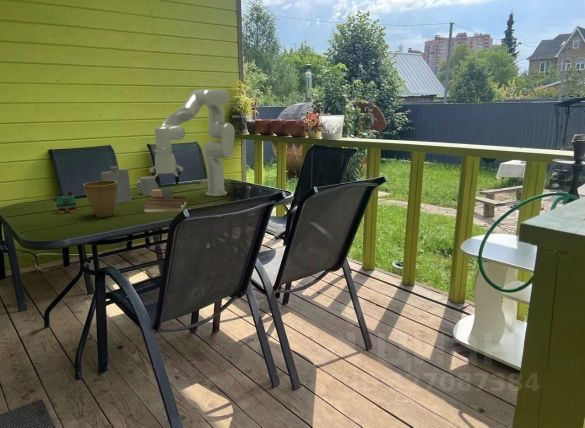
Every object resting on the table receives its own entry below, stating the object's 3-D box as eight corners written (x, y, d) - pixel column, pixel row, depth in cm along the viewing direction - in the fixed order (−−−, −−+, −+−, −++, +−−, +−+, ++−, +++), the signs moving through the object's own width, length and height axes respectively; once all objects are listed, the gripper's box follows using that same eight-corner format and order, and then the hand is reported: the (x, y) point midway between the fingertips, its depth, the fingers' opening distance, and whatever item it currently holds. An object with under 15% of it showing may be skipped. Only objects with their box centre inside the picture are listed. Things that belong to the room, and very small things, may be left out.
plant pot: (96, 212, 219) (92, 180, 215) (125, 212, 218) (122, 180, 215) (81, 219, 204) (76, 185, 201) (112, 219, 204) (108, 185, 200)
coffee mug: (162, 192, 267) (161, 176, 265) (152, 195, 258) (150, 179, 256) (144, 191, 272) (142, 175, 269) (133, 194, 263) (131, 178, 260)
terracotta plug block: (154, 202, 241) (153, 189, 240) (162, 201, 242) (161, 189, 240) (152, 203, 238) (151, 190, 236) (160, 203, 238) (159, 190, 236)
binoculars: (74, 189, 225) (74, 191, 216) (76, 210, 227) (77, 212, 218) (54, 191, 221) (54, 192, 212) (57, 212, 223) (57, 214, 214)
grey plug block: (164, 202, 232) (163, 189, 230) (173, 202, 232) (172, 189, 230) (163, 204, 228) (162, 191, 226) (171, 204, 228) (170, 191, 227)
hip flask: (106, 205, 233) (102, 168, 228) (102, 204, 235) (98, 167, 230) (132, 200, 245) (129, 165, 241) (128, 199, 248) (124, 164, 243)
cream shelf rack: (153, 204, 235) (152, 196, 234) (187, 203, 236) (186, 195, 235) (144, 212, 217) (143, 203, 216) (181, 211, 218) (180, 202, 217)
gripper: (145, 152, 220) (149, 186, 224) (180, 151, 221) (183, 184, 225) (149, 150, 227) (152, 183, 231) (182, 149, 228) (185, 182, 232)
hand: (167, 184), depth 228 cm, fingers open, 9 cm apart
